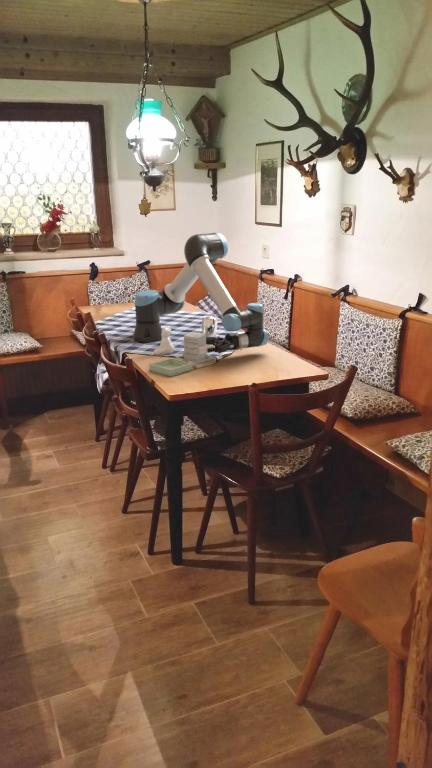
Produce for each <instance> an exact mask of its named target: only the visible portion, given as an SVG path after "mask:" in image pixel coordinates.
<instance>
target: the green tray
mask: <svg viewBox="0 0 432 768" xmlns="http://www.w3.org/2000/svg"><path fill="white" fill-rule="evenodd" d="M175 358H176V357H174V358H173V357H168V358H166V359H163V360H158V361H155V362H151V363H149V364H148V366H149V367H148V369H149V372H151V373H155V374H159V375H162V376H166V377H168V378H172V377H175V376H179V375H182V374H184V373H188V372H191V371H193V370H194V369H193V366H192V363H190V362H186V361H182V360H178V359H175Z"/></svg>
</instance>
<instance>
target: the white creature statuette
mask: <svg viewBox="0 0 432 768" xmlns="http://www.w3.org/2000/svg"><path fill="white" fill-rule="evenodd" d="M171 331H172V327H171V328H169V327H167V326H165V327H163V329H162V334H161V336H162V340H160V345H159V346H158V348H155V349H154V350H153V354H154V355H155V356H156V355H169V354H170V355H171V354H172V353H173V352H174V351H175V345H174V344H173V343H172V339H171V337H170V336H171Z"/></svg>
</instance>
